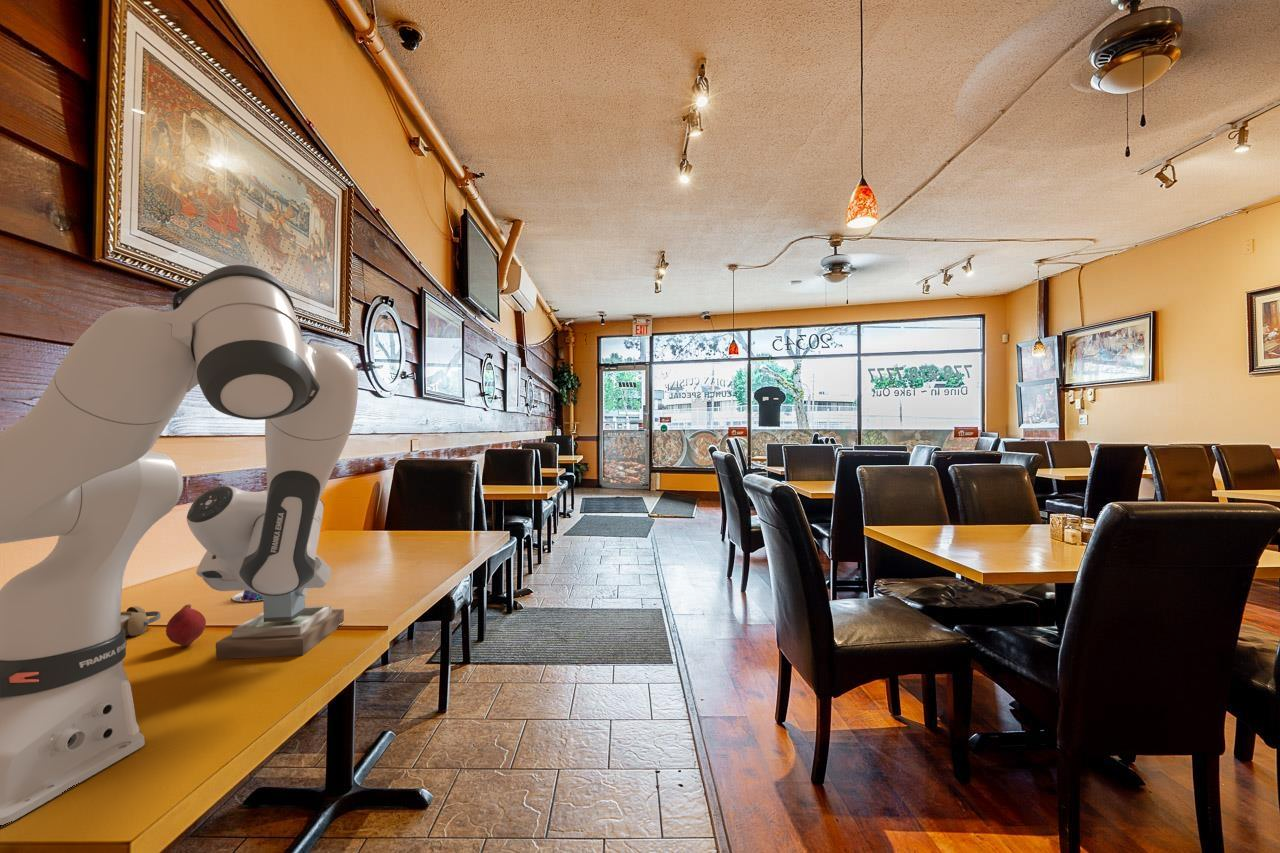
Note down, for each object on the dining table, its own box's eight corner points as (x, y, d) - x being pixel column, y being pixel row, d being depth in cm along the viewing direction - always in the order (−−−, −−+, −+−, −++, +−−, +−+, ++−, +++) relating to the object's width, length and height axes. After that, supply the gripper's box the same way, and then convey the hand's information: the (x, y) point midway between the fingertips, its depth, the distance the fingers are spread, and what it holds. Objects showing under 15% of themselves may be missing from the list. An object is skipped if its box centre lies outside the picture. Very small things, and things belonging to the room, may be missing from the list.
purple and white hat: (291, 597, 133) (291, 576, 133) (230, 607, 126) (230, 585, 126) (289, 586, 143) (289, 566, 143) (233, 595, 136) (232, 574, 136)
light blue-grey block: (291, 620, 103) (290, 579, 103) (263, 622, 103) (263, 580, 103) (305, 612, 108) (304, 572, 108) (279, 613, 108) (278, 573, 108)
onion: (182, 653, 100) (182, 610, 100) (158, 651, 101) (157, 608, 101) (213, 641, 106) (212, 600, 106) (189, 639, 107) (189, 598, 107)
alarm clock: (55, 626, 108) (155, 595, 118) (62, 649, 108) (160, 616, 119) (52, 641, 100) (159, 607, 110) (60, 666, 100) (165, 629, 111)
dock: (303, 655, 98) (302, 630, 98) (216, 659, 97) (215, 634, 97) (343, 623, 114) (343, 602, 114) (269, 626, 113) (269, 604, 113)
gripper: (320, 539, 100) (346, 577, 109) (203, 542, 98) (239, 581, 108) (308, 569, 95) (335, 606, 105) (185, 573, 94) (224, 610, 103)
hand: (286, 593), depth 106 cm, fingers closed on light blue-grey block, 5 cm apart
